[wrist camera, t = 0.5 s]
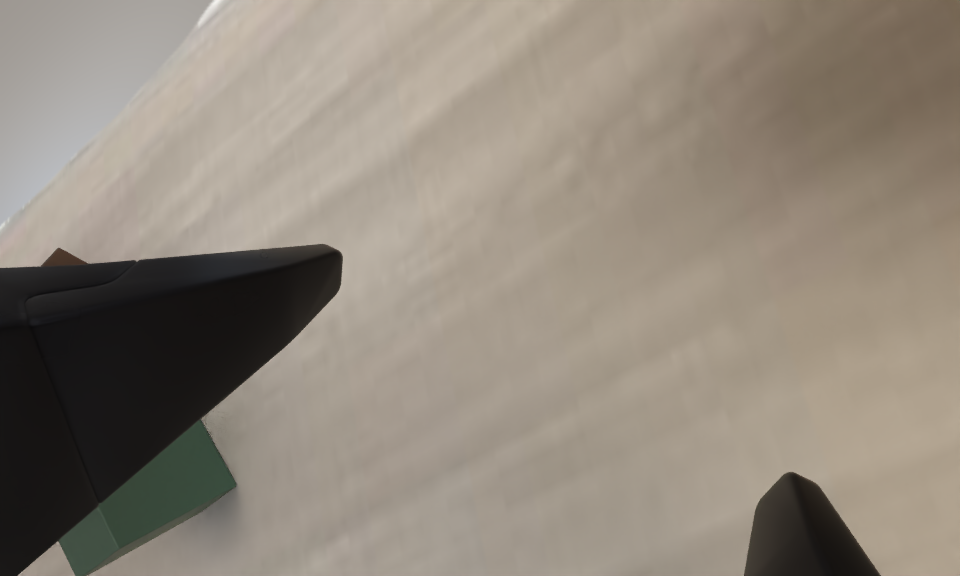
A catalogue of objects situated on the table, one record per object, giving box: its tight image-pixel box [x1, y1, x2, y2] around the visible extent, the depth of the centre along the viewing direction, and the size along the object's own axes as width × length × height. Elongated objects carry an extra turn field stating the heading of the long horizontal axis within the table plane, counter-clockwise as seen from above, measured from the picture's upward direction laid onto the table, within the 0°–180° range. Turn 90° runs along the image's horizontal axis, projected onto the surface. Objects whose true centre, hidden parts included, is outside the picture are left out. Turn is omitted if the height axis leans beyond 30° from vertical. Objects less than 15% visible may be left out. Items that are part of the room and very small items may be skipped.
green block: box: [58, 420, 236, 576], centre depth 26 cm, size 7×3×7 cm, turn 36°
